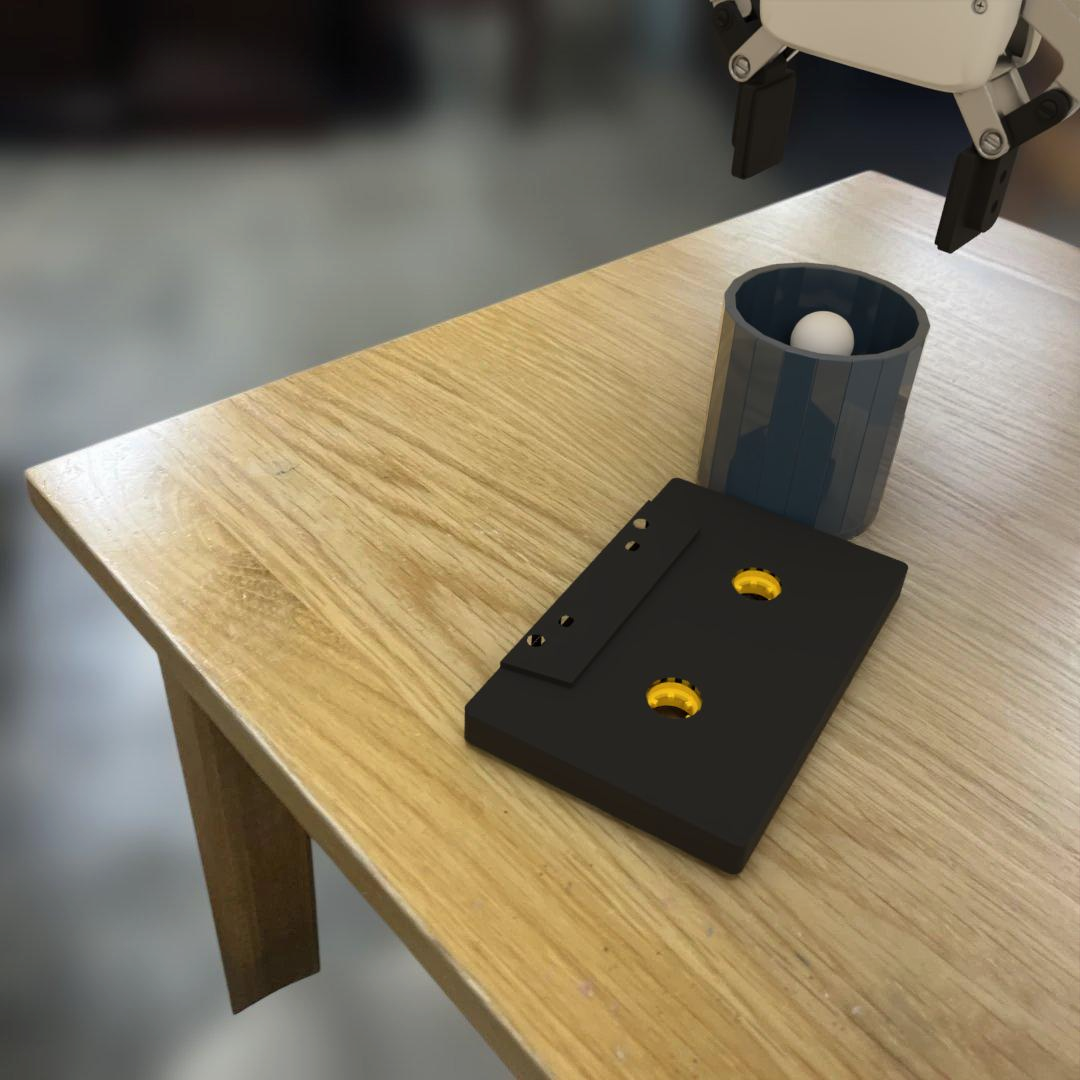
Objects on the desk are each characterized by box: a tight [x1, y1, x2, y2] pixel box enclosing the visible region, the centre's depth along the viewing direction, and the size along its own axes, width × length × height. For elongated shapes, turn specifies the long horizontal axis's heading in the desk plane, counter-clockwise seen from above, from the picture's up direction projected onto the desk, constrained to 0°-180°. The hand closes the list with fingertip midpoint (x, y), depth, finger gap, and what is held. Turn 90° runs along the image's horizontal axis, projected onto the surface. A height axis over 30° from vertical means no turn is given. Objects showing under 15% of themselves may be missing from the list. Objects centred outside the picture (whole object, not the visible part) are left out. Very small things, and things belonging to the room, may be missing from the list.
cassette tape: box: [463, 477, 909, 876], centre depth 50 cm, size 18×12×2 cm, turn 149°
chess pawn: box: [790, 311, 854, 356], centre depth 57 cm, size 5×5×9 cm
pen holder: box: [695, 261, 931, 541], centre depth 58 cm, size 9×9×10 cm
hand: (852, 204), depth 51 cm, fingers open, 9 cm apart
